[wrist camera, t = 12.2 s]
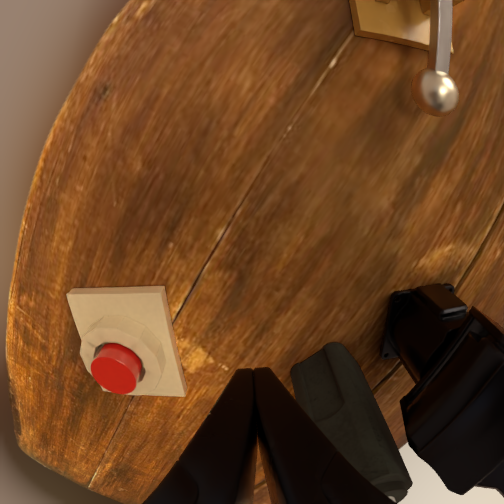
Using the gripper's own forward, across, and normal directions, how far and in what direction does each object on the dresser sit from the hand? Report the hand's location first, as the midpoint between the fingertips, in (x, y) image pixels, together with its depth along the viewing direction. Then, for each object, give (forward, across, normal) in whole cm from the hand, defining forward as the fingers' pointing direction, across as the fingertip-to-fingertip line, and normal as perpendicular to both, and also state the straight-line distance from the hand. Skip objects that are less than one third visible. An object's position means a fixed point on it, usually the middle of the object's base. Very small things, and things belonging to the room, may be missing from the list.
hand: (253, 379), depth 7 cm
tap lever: (+9, -12, -15) cm, 21 cm away
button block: (+13, +10, +8) cm, 18 cm away
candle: (+13, -6, +12) cm, 19 cm away
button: (+10, +10, +8) cm, 16 cm away
